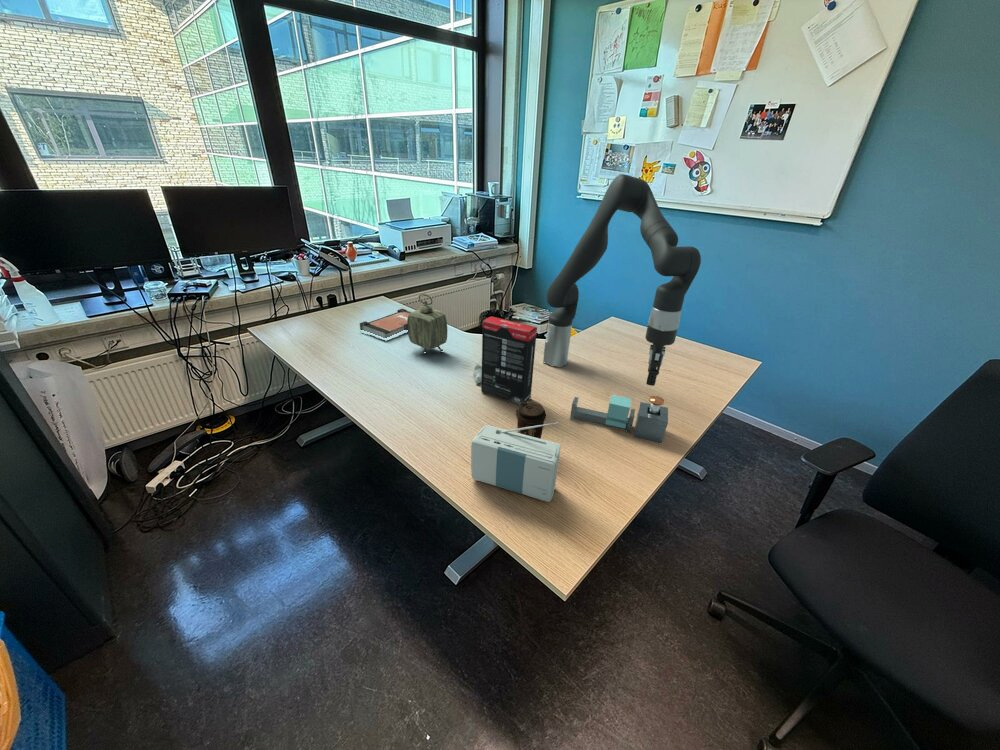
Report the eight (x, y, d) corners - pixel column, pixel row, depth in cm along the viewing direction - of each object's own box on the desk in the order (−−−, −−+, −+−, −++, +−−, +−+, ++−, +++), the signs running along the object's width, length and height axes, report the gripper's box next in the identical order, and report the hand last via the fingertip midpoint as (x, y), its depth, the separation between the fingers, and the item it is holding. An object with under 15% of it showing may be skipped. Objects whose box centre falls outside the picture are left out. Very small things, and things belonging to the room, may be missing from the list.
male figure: (511, 338, 158) (488, 368, 138) (510, 359, 163) (488, 391, 143) (486, 333, 161) (459, 362, 141) (486, 354, 166) (460, 385, 146)
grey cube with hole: (633, 437, 119) (639, 415, 115) (635, 423, 126) (640, 401, 122) (661, 443, 117) (668, 421, 113) (661, 428, 123) (667, 407, 120)
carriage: (605, 423, 122) (609, 403, 118) (607, 414, 126) (611, 394, 123) (625, 428, 120) (630, 407, 117) (626, 419, 125) (631, 398, 121)
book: (386, 343, 174) (385, 332, 172) (360, 333, 182) (359, 323, 180) (428, 325, 193) (427, 316, 191) (403, 317, 202) (402, 308, 199)
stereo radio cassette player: (469, 482, 100) (469, 417, 91) (482, 462, 107) (483, 400, 97) (549, 507, 94) (558, 440, 84) (557, 484, 101) (566, 420, 91)
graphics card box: (532, 398, 137) (538, 324, 124) (523, 407, 131) (529, 331, 118) (489, 385, 144) (491, 314, 131) (479, 393, 138) (480, 320, 125)
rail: (569, 419, 126) (572, 403, 123) (572, 412, 130) (574, 396, 127) (630, 433, 121) (634, 417, 118) (631, 425, 125) (635, 409, 122)
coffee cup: (512, 436, 117) (514, 399, 111) (539, 435, 118) (543, 399, 112) (515, 455, 110) (518, 417, 104) (545, 454, 111) (549, 416, 104)
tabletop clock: (448, 352, 166) (446, 295, 154) (434, 360, 159) (430, 300, 147) (422, 344, 173) (418, 288, 161) (407, 351, 166) (402, 293, 154)
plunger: (644, 420, 118) (649, 401, 114) (645, 413, 121) (650, 394, 118) (658, 423, 116) (664, 404, 113) (659, 416, 120) (664, 397, 116)
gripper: (649, 314, 112) (638, 365, 119) (647, 331, 100) (635, 386, 108) (677, 318, 110) (665, 370, 117) (678, 335, 98) (664, 392, 105)
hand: (650, 378), depth 112 cm, fingers open, 8 cm apart
